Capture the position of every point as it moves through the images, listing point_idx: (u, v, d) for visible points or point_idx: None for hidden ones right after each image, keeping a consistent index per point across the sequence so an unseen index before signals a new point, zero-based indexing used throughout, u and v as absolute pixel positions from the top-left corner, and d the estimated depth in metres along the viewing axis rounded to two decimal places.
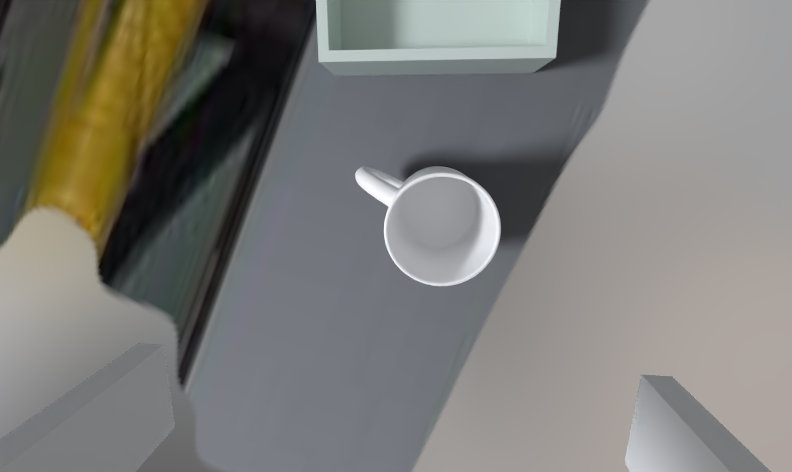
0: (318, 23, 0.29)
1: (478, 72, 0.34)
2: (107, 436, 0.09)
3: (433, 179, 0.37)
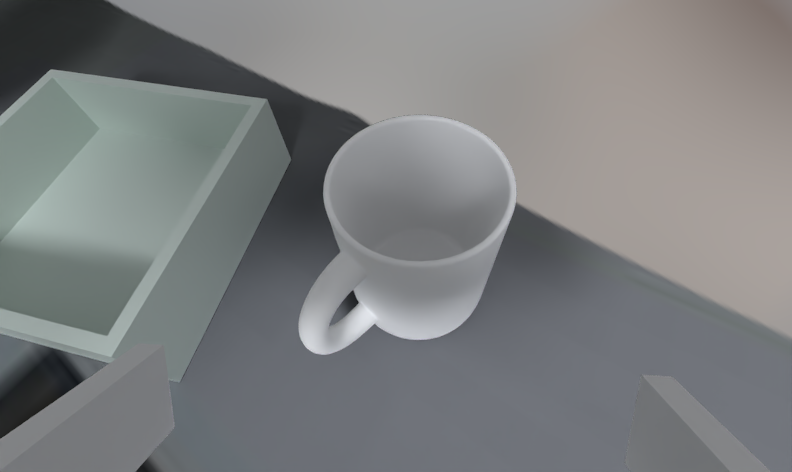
0: (63, 341, 0.18)
1: (264, 203, 0.28)
2: (107, 436, 0.09)
3: None
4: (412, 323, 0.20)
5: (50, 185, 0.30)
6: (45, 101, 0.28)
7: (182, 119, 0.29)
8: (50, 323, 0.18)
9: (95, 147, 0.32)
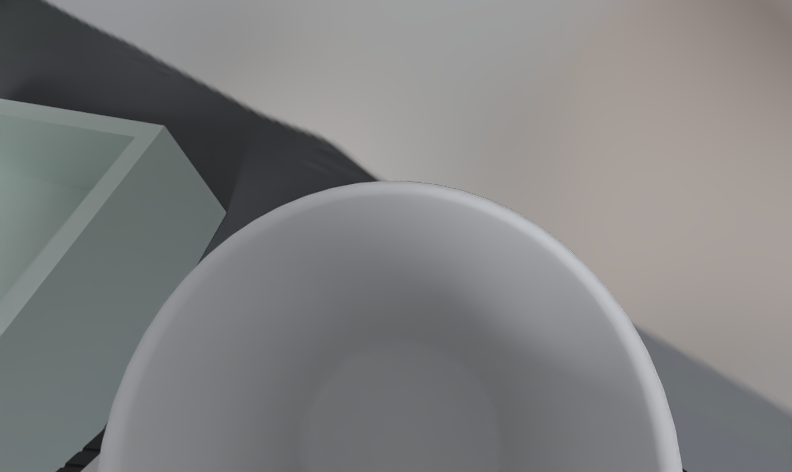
0: None
1: (171, 291, 0.17)
2: None
3: (323, 434, 0.14)
4: None
5: None
6: None
7: (43, 153, 0.18)
8: None
9: None
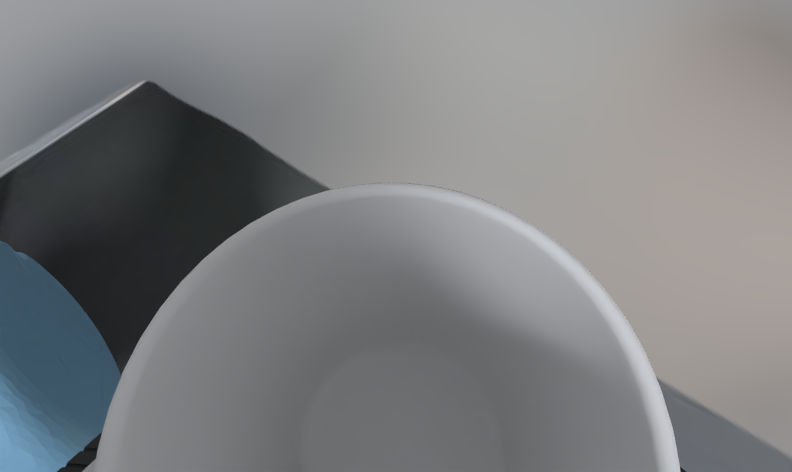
0: None
1: None
2: None
3: (323, 436, 0.14)
4: None
5: None
6: None
7: None
8: None
9: None
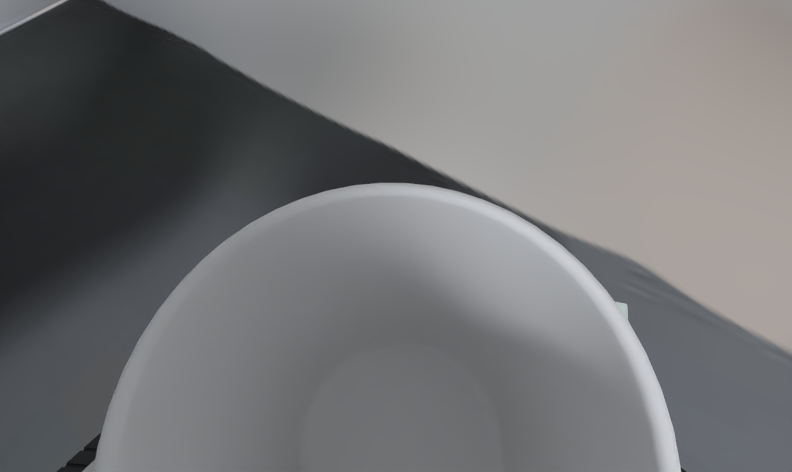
0: None
1: None
2: None
3: (323, 436, 0.14)
4: None
5: None
6: None
7: None
8: None
9: None
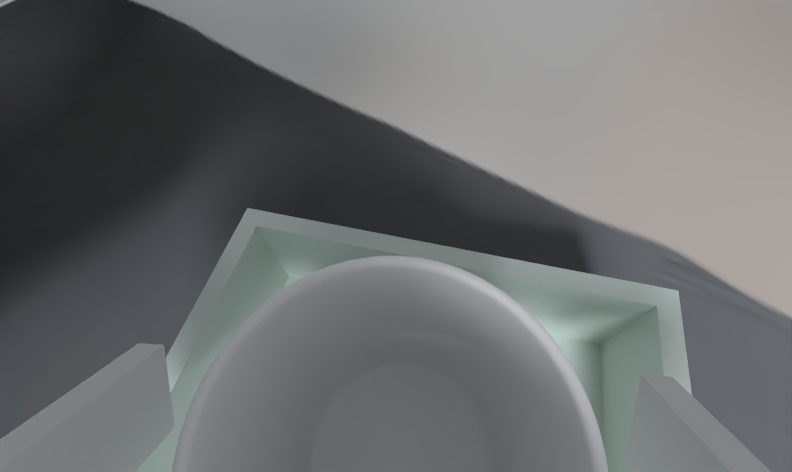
0: None
1: None
2: (107, 436, 0.09)
3: (332, 454, 0.16)
4: None
5: None
6: (245, 269, 0.17)
7: None
8: None
9: None
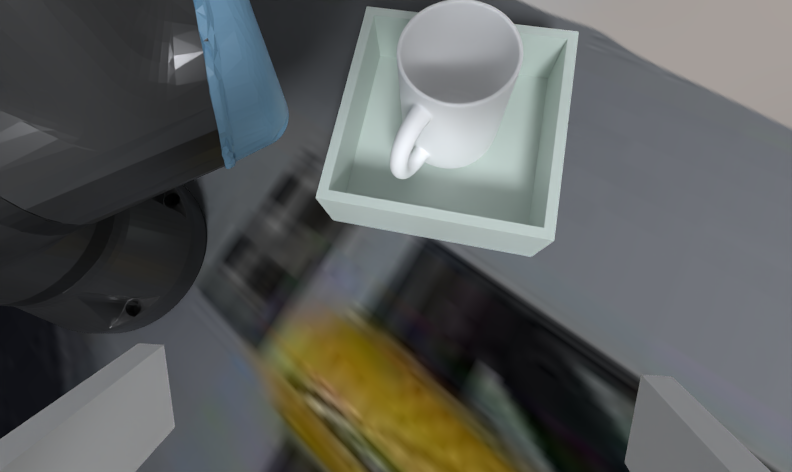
0: (516, 232, 0.28)
1: None
2: (107, 436, 0.09)
3: None
4: (455, 152, 0.31)
5: (366, 111, 0.36)
6: (370, 38, 0.33)
7: None
8: (500, 221, 0.28)
9: (386, 74, 0.37)
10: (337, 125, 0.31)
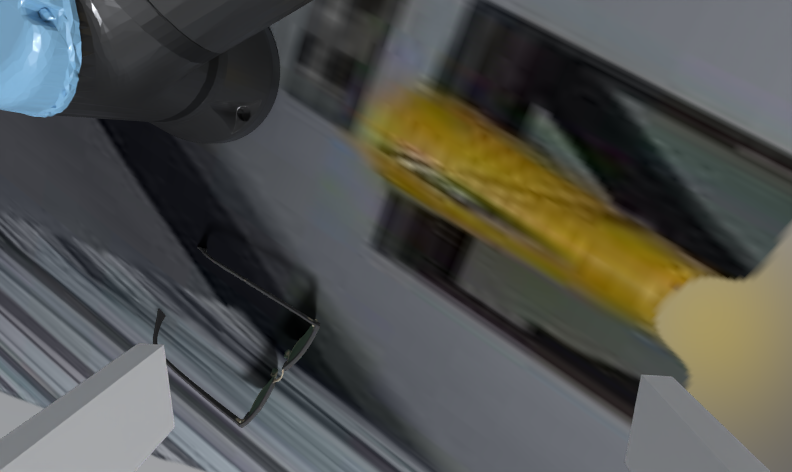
0: None
1: None
2: (107, 436, 0.09)
3: None
4: None
5: None
6: None
7: None
8: None
9: None
10: None
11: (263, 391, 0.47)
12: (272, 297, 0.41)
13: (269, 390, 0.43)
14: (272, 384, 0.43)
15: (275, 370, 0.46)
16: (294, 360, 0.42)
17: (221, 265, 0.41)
